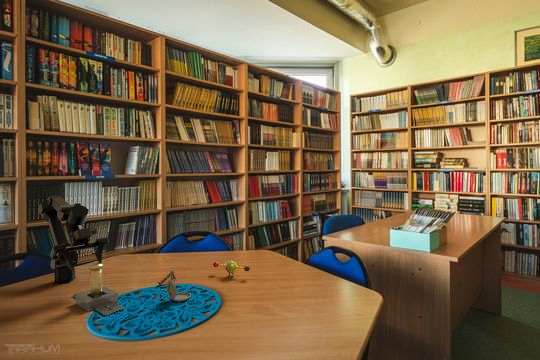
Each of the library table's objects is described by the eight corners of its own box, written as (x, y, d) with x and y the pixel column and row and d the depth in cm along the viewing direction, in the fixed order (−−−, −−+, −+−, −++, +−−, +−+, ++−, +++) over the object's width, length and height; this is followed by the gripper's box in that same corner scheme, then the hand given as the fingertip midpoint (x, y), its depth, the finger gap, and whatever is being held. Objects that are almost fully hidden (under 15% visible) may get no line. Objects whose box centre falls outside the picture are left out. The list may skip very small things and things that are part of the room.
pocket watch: (194, 296, 115) (194, 269, 115) (180, 305, 107) (180, 276, 107) (175, 293, 118) (175, 267, 117) (161, 302, 110) (160, 274, 109)
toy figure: (209, 275, 137) (209, 260, 137) (216, 271, 142) (216, 257, 142) (246, 280, 131) (246, 265, 130) (252, 276, 136) (252, 261, 135)
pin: (86, 304, 108) (85, 266, 108) (96, 299, 112) (95, 262, 112) (97, 305, 107) (96, 267, 107) (106, 300, 111) (105, 263, 111)
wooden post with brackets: (178, 277, 132) (175, 269, 131) (164, 291, 126) (160, 282, 125) (176, 277, 133) (172, 268, 132) (161, 290, 127) (157, 281, 126)
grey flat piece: (66, 298, 114) (66, 289, 114) (95, 289, 122) (95, 282, 122) (98, 318, 98) (98, 309, 98) (129, 307, 106) (129, 298, 106)
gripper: (52, 223, 110) (63, 260, 103) (106, 217, 124) (119, 249, 118) (45, 241, 115) (56, 277, 109) (99, 233, 130) (111, 265, 123)
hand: (87, 266), depth 115 cm, fingers open, 9 cm apart
